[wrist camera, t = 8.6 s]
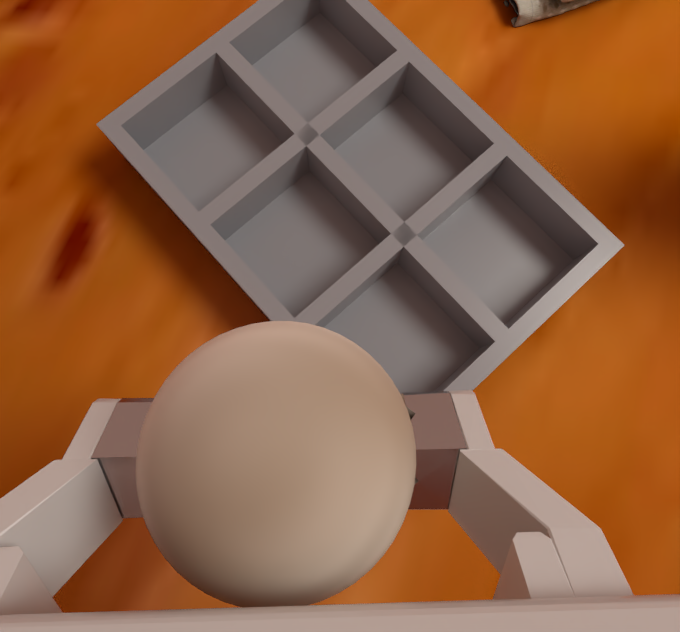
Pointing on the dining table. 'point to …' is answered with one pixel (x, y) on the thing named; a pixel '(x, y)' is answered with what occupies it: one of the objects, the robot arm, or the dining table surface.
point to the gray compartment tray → (360, 190)
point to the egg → (276, 465)
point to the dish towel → (541, 9)
